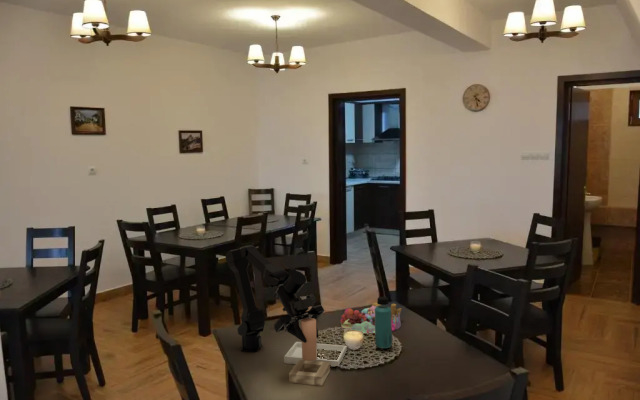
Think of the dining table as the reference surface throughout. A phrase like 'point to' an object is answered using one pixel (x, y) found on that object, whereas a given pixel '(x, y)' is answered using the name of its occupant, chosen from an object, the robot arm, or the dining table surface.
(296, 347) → the tray
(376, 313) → the beverage bottle
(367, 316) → the candy landscape model
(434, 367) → the dining table surface
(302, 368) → the holder
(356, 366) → the dining table surface
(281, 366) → the dining table surface
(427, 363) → the dining table surface
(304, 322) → the dowel
